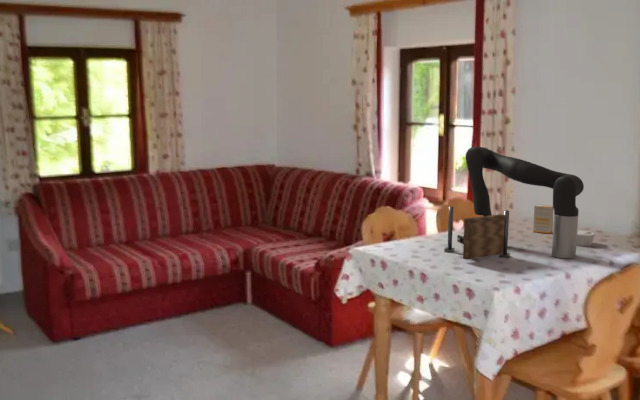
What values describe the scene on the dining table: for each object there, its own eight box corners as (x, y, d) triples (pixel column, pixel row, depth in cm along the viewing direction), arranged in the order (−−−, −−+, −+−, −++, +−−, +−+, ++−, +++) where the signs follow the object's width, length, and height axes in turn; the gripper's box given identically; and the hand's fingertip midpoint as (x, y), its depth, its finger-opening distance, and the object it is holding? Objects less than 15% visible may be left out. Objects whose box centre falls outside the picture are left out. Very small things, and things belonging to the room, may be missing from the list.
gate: (499, 252, 271) (501, 214, 268) (503, 254, 269) (505, 215, 266) (462, 258, 261) (464, 218, 259) (466, 259, 259) (468, 219, 257)
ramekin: (596, 247, 288) (597, 235, 287) (569, 246, 290) (569, 234, 289) (591, 241, 299) (592, 230, 298) (565, 240, 301) (565, 229, 300)
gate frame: (509, 256, 272) (511, 210, 269) (508, 258, 268) (510, 211, 265) (446, 249, 282) (447, 205, 279) (444, 251, 279) (445, 207, 276)
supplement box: (552, 232, 319) (554, 205, 317) (550, 234, 315) (551, 206, 313) (535, 230, 323) (536, 203, 321) (532, 232, 319) (534, 205, 317)
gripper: (460, 225, 279) (451, 233, 264) (493, 228, 274) (485, 236, 259) (460, 242, 281) (450, 251, 265) (492, 245, 275) (484, 255, 260)
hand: (467, 244), depth 262 cm, fingers closed
